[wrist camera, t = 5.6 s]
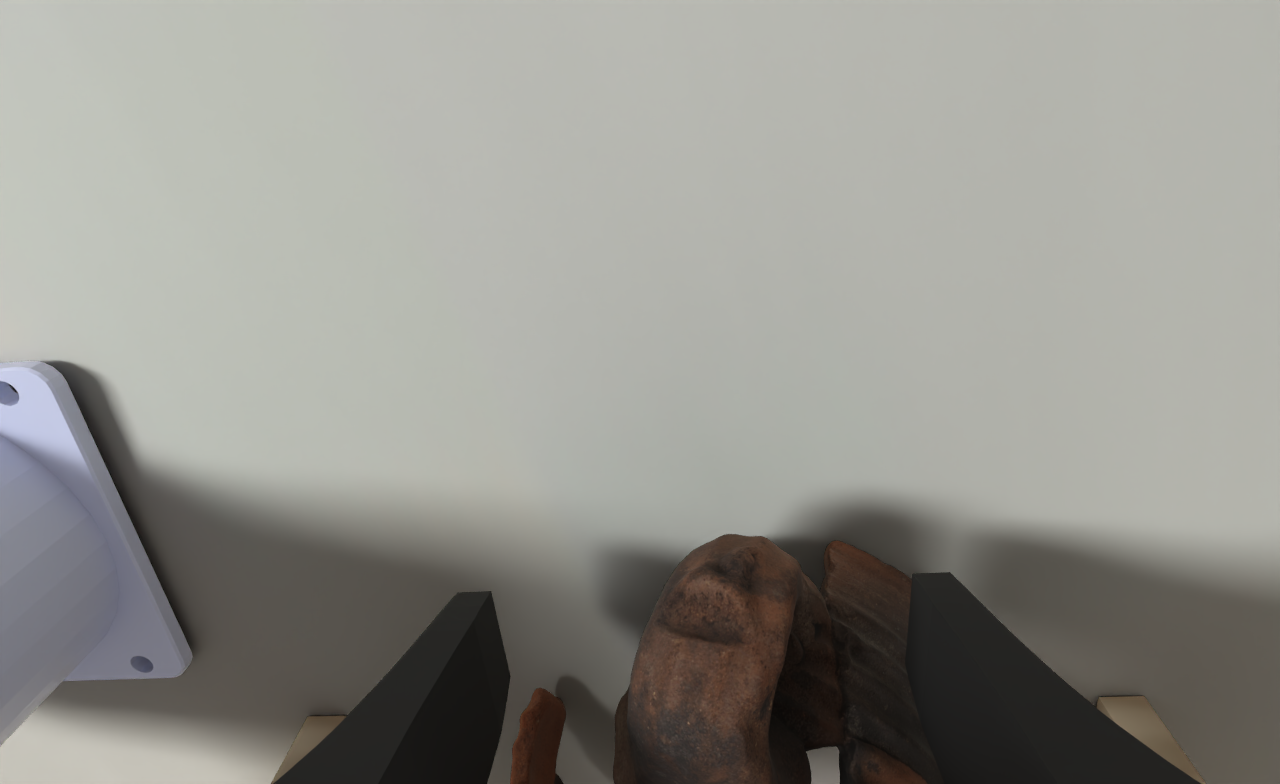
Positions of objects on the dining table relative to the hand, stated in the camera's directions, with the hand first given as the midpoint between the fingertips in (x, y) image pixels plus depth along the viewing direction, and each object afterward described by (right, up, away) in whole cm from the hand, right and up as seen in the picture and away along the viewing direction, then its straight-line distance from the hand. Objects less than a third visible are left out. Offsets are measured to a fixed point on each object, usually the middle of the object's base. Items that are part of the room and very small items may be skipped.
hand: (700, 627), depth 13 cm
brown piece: (+1, -2, +4) cm, 5 cm away
